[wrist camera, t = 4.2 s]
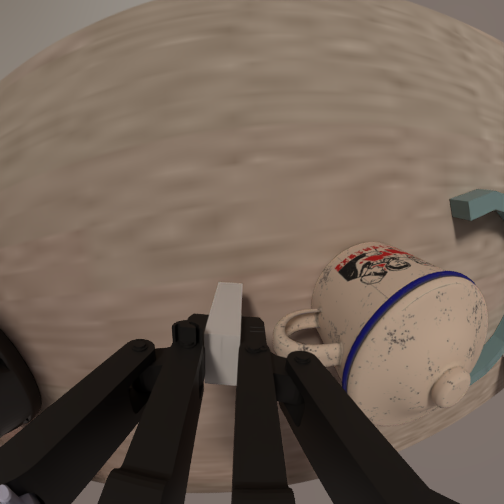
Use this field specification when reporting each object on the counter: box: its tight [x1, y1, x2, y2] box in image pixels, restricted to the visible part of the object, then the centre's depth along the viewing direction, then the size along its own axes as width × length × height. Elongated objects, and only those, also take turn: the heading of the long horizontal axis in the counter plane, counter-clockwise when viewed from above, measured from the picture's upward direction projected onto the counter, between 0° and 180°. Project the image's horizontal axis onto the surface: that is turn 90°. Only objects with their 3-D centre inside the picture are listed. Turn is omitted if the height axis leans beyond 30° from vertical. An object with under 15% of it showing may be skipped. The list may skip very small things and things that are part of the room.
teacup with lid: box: [273, 242, 488, 426], centre depth 14 cm, size 12×9×12 cm
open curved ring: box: [450, 189, 504, 385], centre depth 19 cm, size 16×20×2 cm
